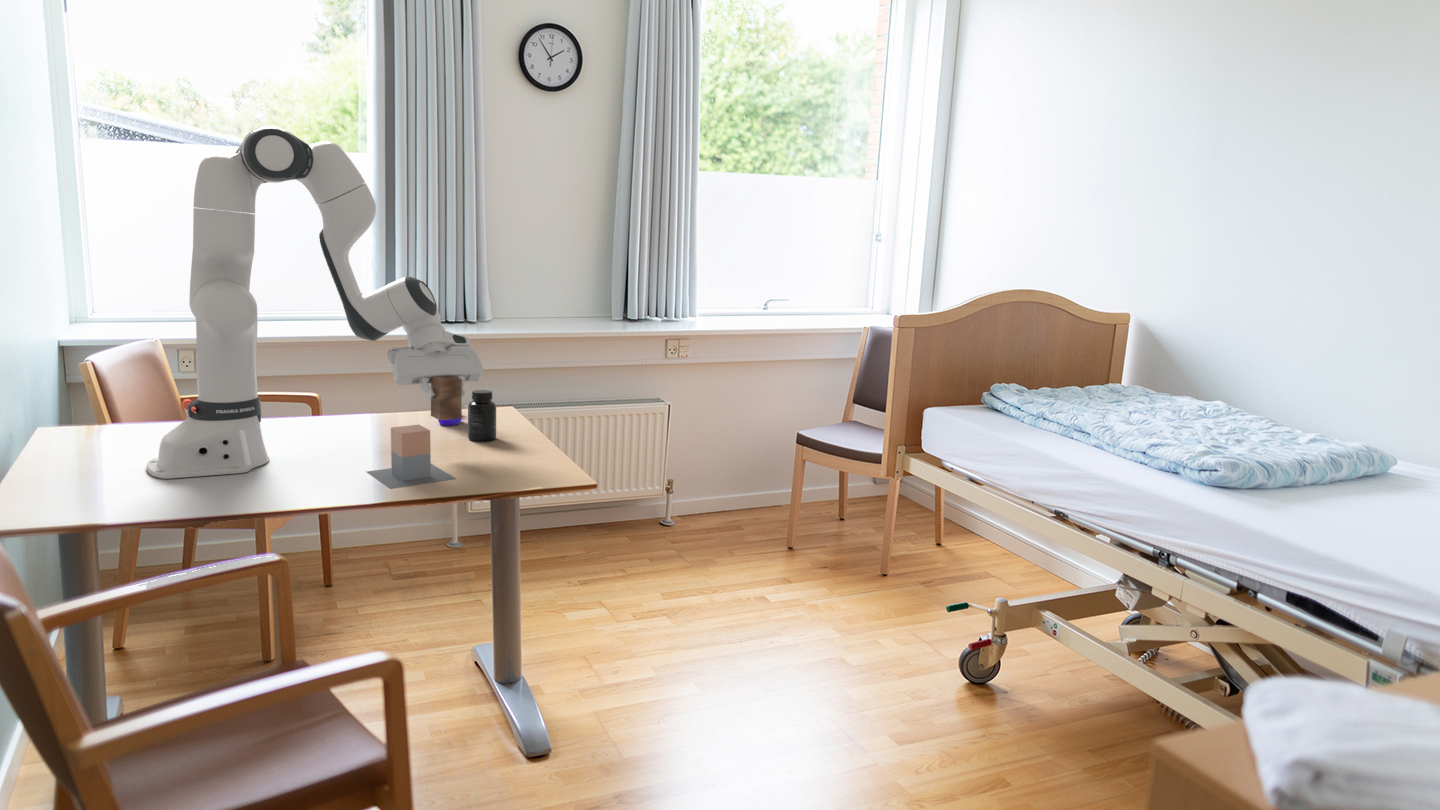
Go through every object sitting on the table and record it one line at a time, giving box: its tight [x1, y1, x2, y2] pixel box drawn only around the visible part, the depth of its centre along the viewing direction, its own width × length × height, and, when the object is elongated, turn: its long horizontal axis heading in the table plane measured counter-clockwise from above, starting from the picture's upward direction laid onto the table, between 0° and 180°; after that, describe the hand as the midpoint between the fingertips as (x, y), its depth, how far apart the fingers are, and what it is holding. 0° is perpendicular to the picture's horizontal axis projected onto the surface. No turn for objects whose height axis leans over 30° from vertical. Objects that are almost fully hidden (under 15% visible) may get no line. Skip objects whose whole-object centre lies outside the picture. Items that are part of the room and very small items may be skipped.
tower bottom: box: [390, 450, 432, 481], centre depth 192 cm, size 6×6×5 cm
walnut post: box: [430, 376, 463, 421], centre depth 206 cm, size 5×5×9 cm
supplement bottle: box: [467, 389, 497, 443], centre depth 225 cm, size 7×7×12 cm
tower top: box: [390, 424, 431, 457], centre depth 191 cm, size 6×6×5 cm
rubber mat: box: [366, 463, 457, 490], centre depth 192 cm, size 14×14×1 cm
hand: (447, 396), depth 205 cm, fingers closed on walnut post, 5 cm apart
